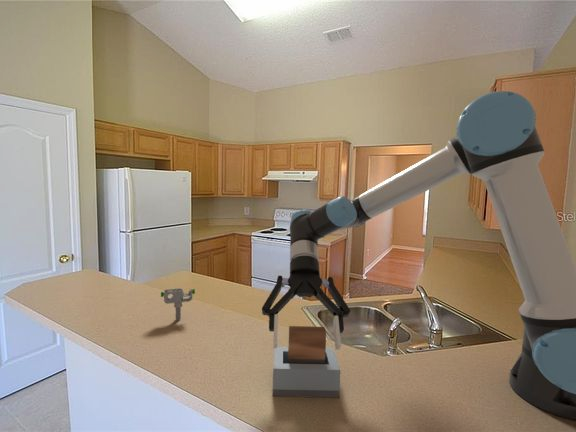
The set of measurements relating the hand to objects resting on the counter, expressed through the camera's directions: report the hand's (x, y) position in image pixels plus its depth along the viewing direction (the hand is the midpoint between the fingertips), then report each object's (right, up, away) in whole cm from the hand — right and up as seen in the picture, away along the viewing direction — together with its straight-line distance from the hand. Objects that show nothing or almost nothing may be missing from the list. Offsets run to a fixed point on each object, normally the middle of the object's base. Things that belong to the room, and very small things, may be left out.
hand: (306, 347), depth 65 cm
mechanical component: (-40, -6, +34) cm, 53 cm away
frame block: (0, -9, +3) cm, 10 cm away
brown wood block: (0, -8, +3) cm, 9 cm away
